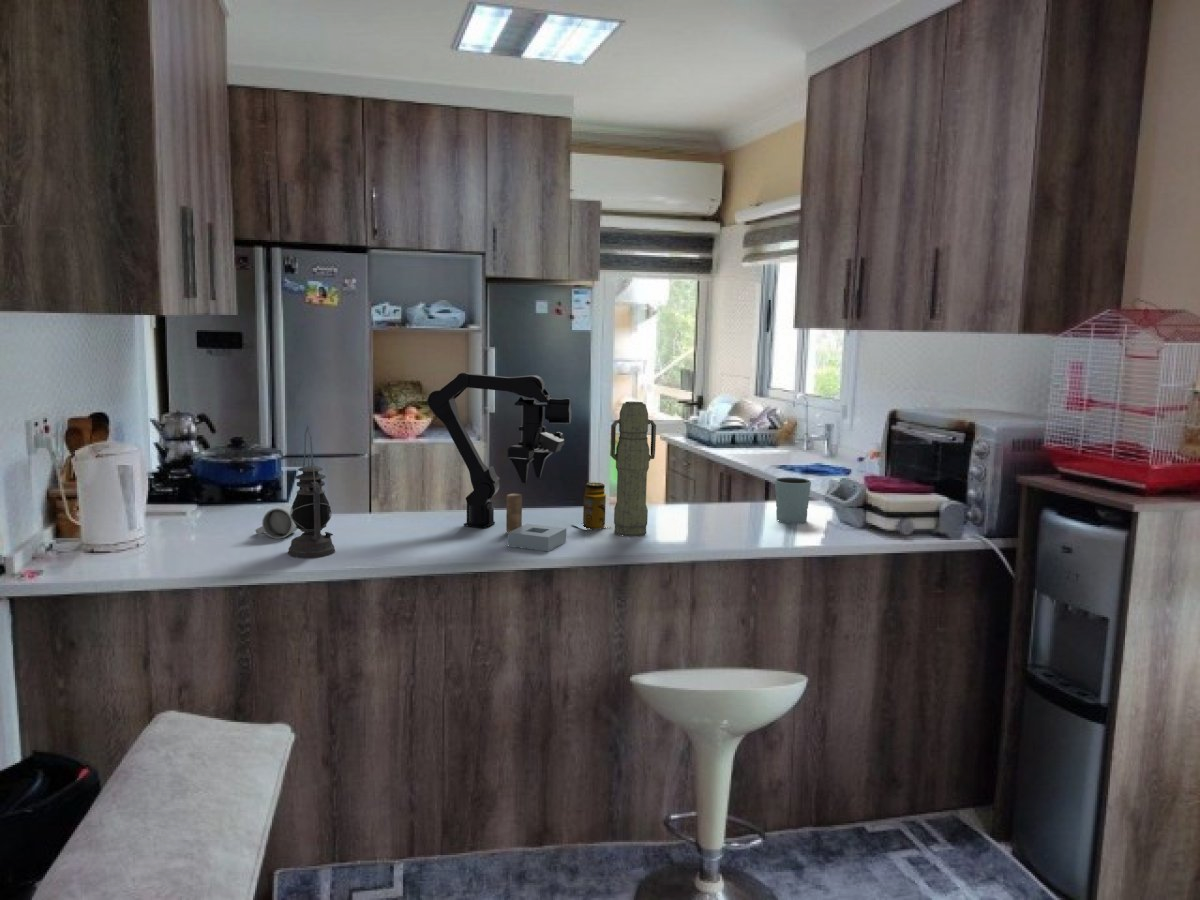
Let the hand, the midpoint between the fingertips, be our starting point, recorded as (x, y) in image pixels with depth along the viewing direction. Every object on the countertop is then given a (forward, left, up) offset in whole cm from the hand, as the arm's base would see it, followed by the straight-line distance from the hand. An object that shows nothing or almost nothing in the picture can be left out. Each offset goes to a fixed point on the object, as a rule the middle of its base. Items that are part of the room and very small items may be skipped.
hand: (531, 480), depth 235 cm
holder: (+10, -16, -13) cm, 23 cm away
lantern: (-34, -47, -13) cm, 60 cm away
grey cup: (+64, +42, -13) cm, 77 cm away
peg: (-1, -7, -13) cm, 15 cm away
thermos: (+27, +6, -13) cm, 30 cm away
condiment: (+15, +8, -13) cm, 21 cm away
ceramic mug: (-53, -37, -13) cm, 66 cm away
